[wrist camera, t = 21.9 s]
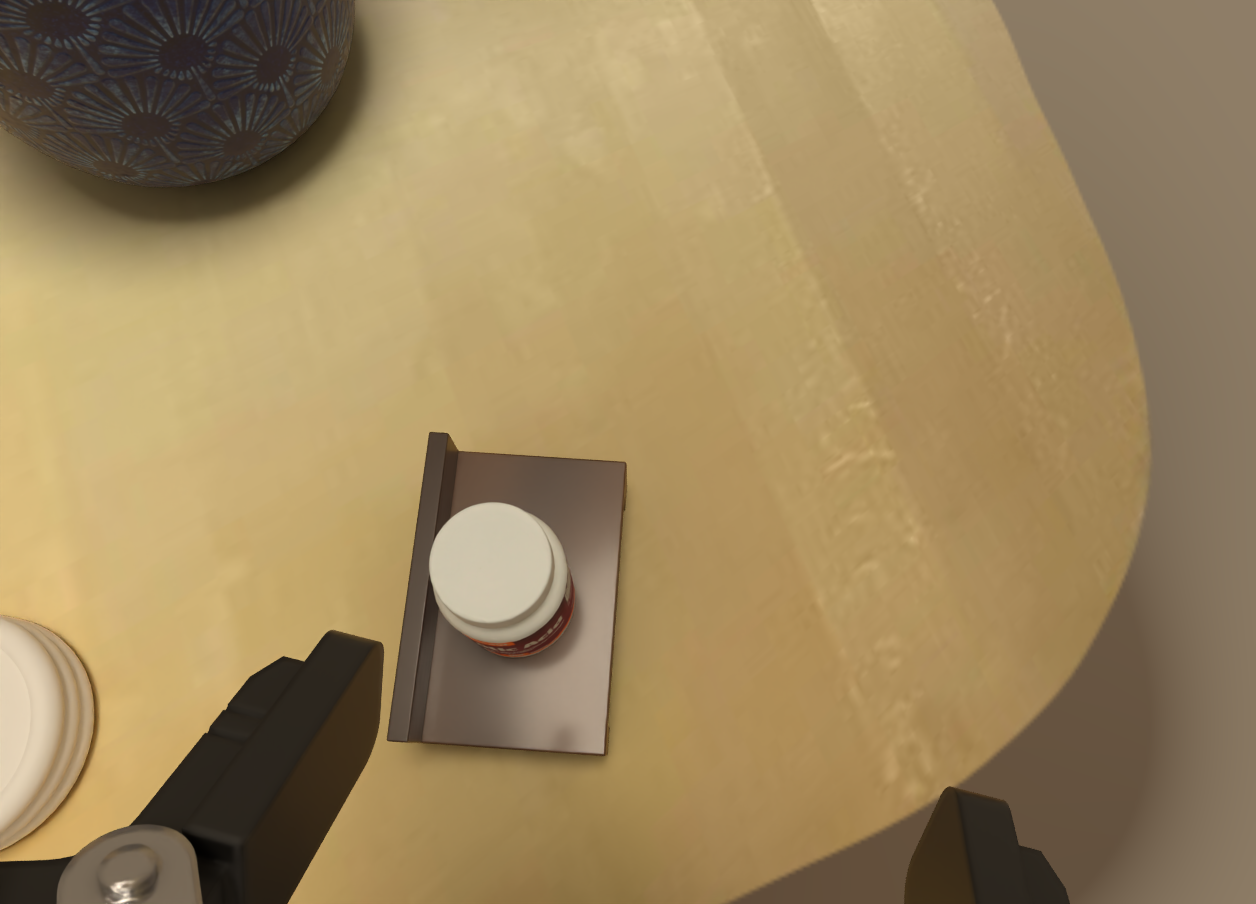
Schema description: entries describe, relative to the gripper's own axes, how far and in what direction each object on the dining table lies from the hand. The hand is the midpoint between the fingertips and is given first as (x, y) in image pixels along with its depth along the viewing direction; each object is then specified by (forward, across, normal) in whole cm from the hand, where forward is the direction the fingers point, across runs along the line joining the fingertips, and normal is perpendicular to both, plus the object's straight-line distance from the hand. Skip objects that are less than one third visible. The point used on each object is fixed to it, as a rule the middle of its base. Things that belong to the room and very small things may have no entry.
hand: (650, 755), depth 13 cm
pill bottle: (+21, -6, -14) cm, 26 cm away
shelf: (+24, -6, -17) cm, 30 cm away
